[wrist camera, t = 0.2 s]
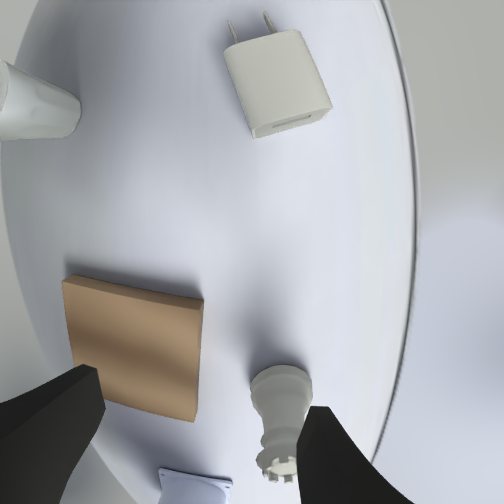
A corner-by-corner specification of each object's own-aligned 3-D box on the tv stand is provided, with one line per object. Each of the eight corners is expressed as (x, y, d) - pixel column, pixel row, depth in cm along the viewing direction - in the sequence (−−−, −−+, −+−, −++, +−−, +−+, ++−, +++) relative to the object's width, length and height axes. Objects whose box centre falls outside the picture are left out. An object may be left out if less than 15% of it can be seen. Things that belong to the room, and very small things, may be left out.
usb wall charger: (253, 140, 16) (251, 128, 12) (217, 42, 14) (205, 11, 10) (319, 120, 15) (336, 104, 11) (279, 25, 14) (283, -9, 10)
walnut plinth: (197, 410, 21) (193, 422, 19) (88, 380, 21) (80, 390, 19) (204, 300, 18) (199, 310, 17) (73, 274, 18) (61, 281, 17)
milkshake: (30, 120, 15) (-70, 111, 6) (78, 74, 15) (-23, 34, 5) (46, 167, 16) (-64, 176, 7) (98, 121, 16) (-19, 95, 6)
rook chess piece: (323, 383, 20) (344, 468, 12) (278, 413, 20) (281, 496, 13) (284, 349, 19) (292, 440, 11) (237, 383, 20) (226, 471, 12)
